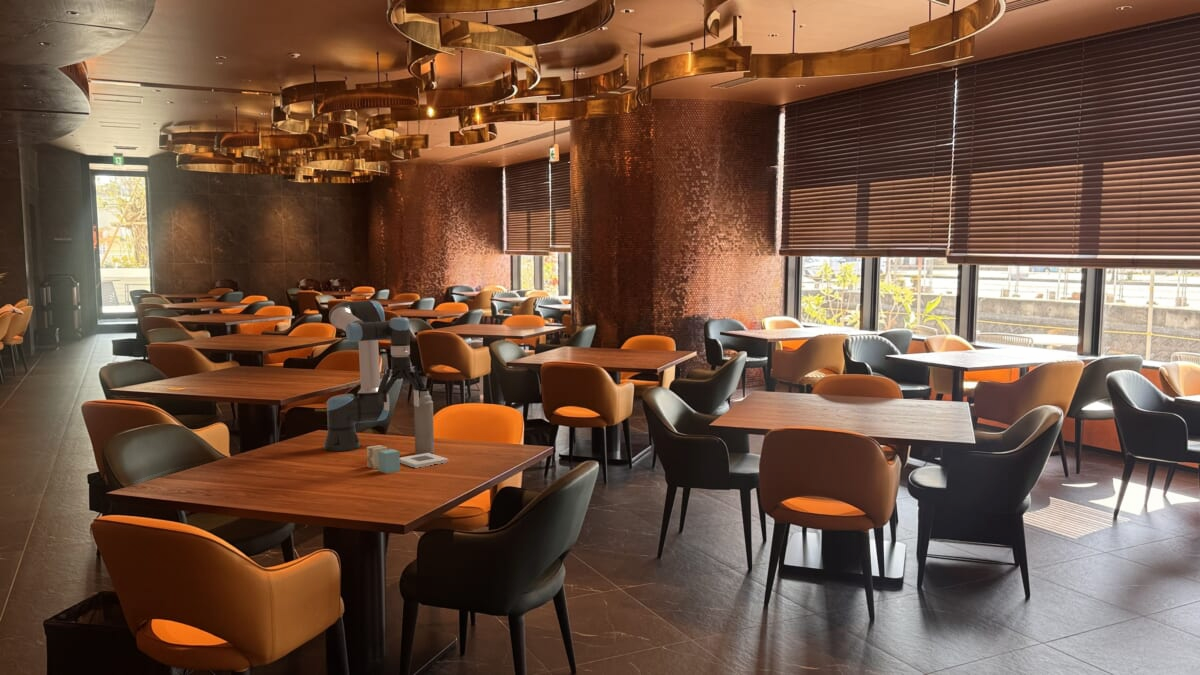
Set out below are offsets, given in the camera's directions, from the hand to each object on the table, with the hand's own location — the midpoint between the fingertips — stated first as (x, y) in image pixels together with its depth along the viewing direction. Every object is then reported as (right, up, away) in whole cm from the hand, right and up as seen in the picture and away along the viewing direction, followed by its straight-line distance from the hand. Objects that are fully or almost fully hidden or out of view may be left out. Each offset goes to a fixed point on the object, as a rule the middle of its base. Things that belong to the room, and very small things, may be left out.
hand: (401, 408), depth 364 cm
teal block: (-3, -24, -10) cm, 26 cm away
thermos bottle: (+5, -21, +23) cm, 31 cm away
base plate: (+7, -23, +5) cm, 24 cm away
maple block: (-9, -23, -2) cm, 25 cm away
